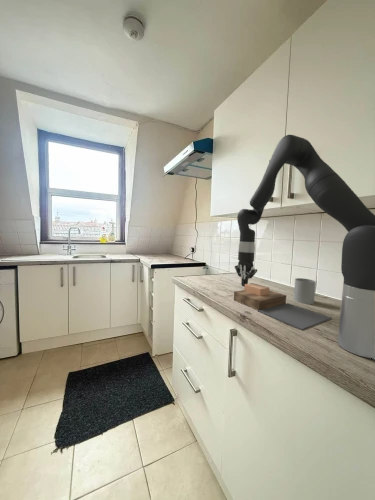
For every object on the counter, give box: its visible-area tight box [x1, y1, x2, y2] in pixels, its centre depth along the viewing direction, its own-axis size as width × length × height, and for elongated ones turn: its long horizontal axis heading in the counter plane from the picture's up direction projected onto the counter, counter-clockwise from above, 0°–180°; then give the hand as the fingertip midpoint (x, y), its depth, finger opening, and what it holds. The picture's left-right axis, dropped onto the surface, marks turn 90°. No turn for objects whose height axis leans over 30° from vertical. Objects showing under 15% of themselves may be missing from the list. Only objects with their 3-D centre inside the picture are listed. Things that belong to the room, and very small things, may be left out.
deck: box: [233, 289, 287, 311], centre depth 90 cm, size 14×18×4 cm
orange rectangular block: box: [243, 282, 270, 296], centre depth 91 cm, size 9×6×3 cm, turn 31°
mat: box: [257, 302, 333, 331], centre depth 76 cm, size 17×20×1 cm
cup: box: [293, 277, 317, 305], centre depth 94 cm, size 8×8×10 cm
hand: (244, 286), depth 97 cm, fingers closed
